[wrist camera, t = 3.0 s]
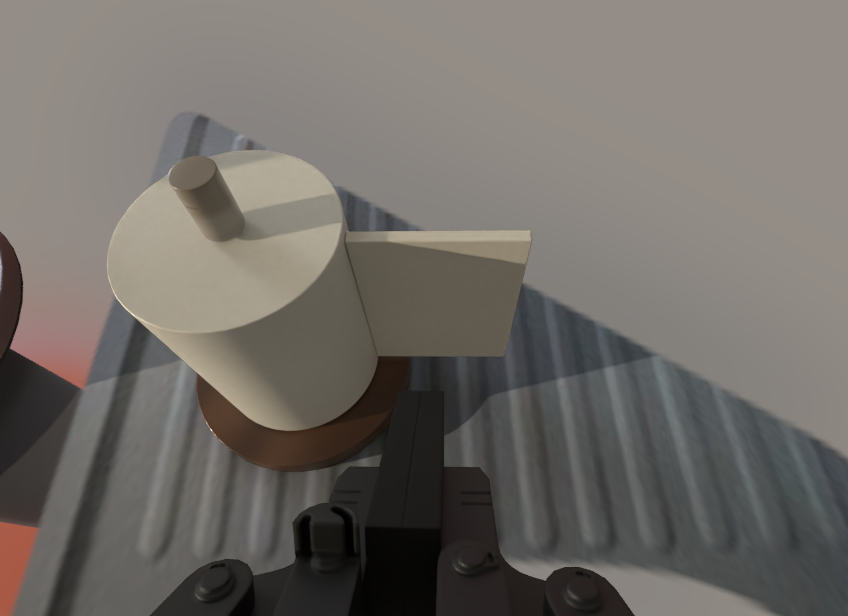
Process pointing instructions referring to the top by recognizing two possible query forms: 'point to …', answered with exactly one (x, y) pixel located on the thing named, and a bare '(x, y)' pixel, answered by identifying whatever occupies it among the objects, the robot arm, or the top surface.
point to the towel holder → (248, 439)
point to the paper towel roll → (307, 290)
